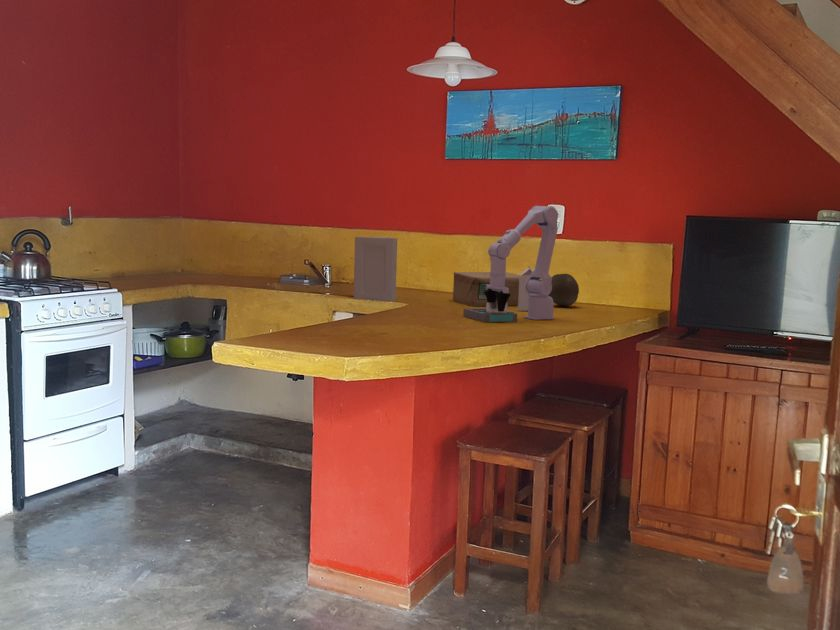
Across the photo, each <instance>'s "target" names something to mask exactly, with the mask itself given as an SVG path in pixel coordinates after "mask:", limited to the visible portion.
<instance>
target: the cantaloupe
mask: <svg viewBox="0 0 840 630" xmlns="http://www.w3.org/2000/svg"><path fill="white" fill-rule="evenodd" d="M551 278H552V282H551V284H552V290H551V293H550V294H549V296H550V297H552V299H553V302H554V304H555V305H556V306H558V307H562V308H568V307H569V306H572V305H574V304H575V303H576V302H577V300H578V297H579V293H580V287H579V284H578V282H577V280H576V278H575V277H573V276H572V274H569V273H557V274H556V273H555V274H554V275H553V276H551Z"/></svg>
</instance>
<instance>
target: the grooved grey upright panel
mask: <svg viewBox="0 0 840 630" xmlns="http://www.w3.org/2000/svg"><path fill="white" fill-rule="evenodd" d="M397 260H398V238H396V237H395V238H394V237H389V236H388V237H385V236H355V237H354V262H353V263H354V266H353V267H354V268H353V270H354V271H353V299H355V300H370V301H382V302H383V301H384V302H395V301H396V297H397V292H396V291H397V266H398V265H397V262H398V261H397Z"/></svg>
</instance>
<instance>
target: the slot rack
mask: <svg viewBox="0 0 840 630" xmlns="http://www.w3.org/2000/svg"><path fill="white" fill-rule="evenodd" d="M462 316H463V317H465V318H468V319H472V320H475V321H478V322H482V323H515V322H516V323H517V322H518V313H516V312H514V311H510V310H507V313H488V314H486V307H474V308H463V312H462Z"/></svg>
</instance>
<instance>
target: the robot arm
mask: <svg viewBox="0 0 840 630" xmlns="http://www.w3.org/2000/svg"><path fill="white" fill-rule="evenodd" d="M558 219H559V212H558V210H557V208H556V207H554V206H552V205H549V206H548V205H546V206H545V205H534V206H532V208H531V209H529V210H528V211H527V214H526V215H525V216H524V218H523V219H522V220H521V221H520V222H519V223H518V224H517V226H516V227H515V228H514V229H513V228H512V229H511V228H510V229H509V230H508V229H507V230H506V231H505V234H504V235H502V236H501V237H500V238H498V239H497V241H496V242H493V243H491V244H490V245H489V248H488V249H487V253H488V255H489V258H490V259H489V261H490V271H489V272H490V284H486V289H487V291H484V293H485V295H486V298H487V302H496V298H497V304H498V311H499V312H504V309H505V306H506V303H507V300H508V298H509V297H510V294H509V288H507V287H505V272H507V271H506V267H507V258H508V257H509V256H510V253H511V250H512V249H513V248H515V246H516V245H517V244H518V243H519V242H520V241H521V238H522V237H521V236H522V235H523V234H524V233H526V232H527V231H528V230H529V229H530V228H531V227H532V226H533V225H535V224H536V225H537V226H538V227H539V228H540V229H541V231H542V233H541V234H542V235H541V238H540V242H539V248H538V251H537V256H536V260H535V261H536V263H535V267H534V271H533V272H532V273H531V274H530V275H529V279H528V280H527V282H526V285H525V288H526V291H527V292H528V295H529V304H528V311H527V315H524V316H523V318H525V319H530V320H537V321H538V320H554V319H555V318H554V304H555V303H554V302H553V299H552V297H550V296H549V294H550V293H551V290H552V284H551V282H552V278H551V277H552V276H551V275H550V274H549V273H550V272H549V271H550V269H551V268H550V267H551V263H552V259H553V253H554V248H555V244H556V238H557V234H558V229H559V228H558ZM496 289H498V290H496ZM498 292H500V293H498Z"/></svg>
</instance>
